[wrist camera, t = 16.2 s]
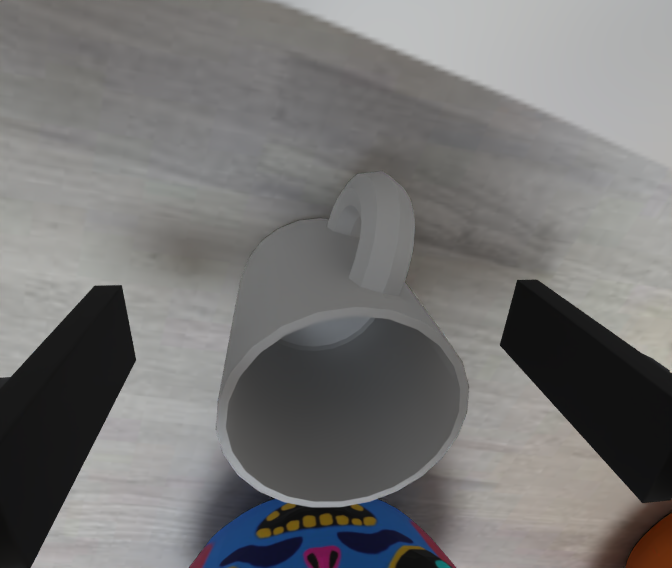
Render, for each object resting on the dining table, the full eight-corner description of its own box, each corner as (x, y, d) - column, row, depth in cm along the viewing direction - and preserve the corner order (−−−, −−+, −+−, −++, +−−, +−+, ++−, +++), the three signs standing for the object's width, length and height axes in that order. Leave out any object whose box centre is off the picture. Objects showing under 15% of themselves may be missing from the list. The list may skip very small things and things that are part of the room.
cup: (225, 336, 20) (193, 497, 12) (275, 129, 16) (279, 156, 8) (361, 361, 22) (414, 516, 14) (433, 180, 18) (562, 243, 10)
